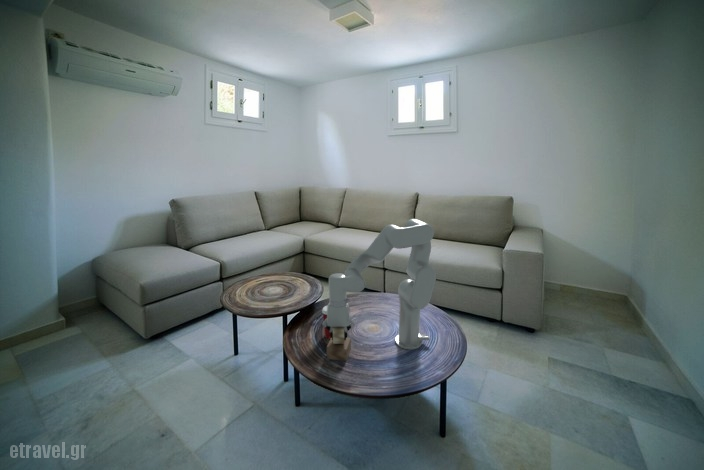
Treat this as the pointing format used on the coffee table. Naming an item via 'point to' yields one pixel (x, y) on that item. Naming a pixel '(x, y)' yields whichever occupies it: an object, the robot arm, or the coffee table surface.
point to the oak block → (338, 335)
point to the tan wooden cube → (339, 350)
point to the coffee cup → (326, 323)
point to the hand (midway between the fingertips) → (339, 338)
